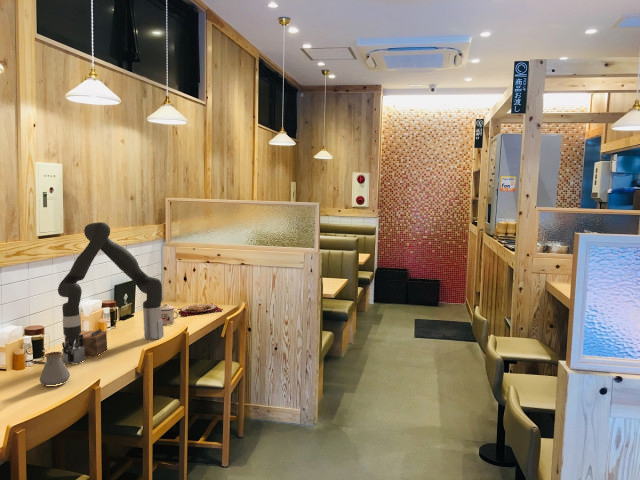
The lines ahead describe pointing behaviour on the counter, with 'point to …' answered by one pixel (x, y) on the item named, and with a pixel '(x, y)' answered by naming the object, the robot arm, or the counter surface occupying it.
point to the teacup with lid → (168, 314)
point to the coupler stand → (94, 342)
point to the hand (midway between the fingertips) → (74, 359)
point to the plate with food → (199, 309)
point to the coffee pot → (53, 369)
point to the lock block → (75, 355)
